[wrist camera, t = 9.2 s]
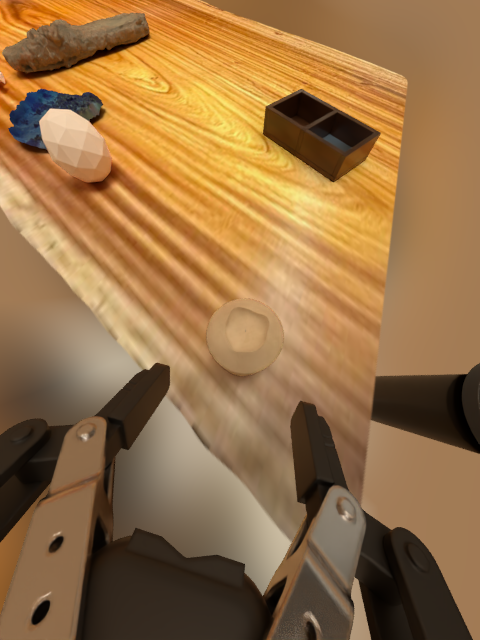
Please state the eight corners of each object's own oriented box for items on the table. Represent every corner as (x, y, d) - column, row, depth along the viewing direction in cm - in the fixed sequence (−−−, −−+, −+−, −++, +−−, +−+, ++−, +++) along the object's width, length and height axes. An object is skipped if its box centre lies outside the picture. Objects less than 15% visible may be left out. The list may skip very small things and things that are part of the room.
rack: (365, 159, 32) (381, 132, 28) (333, 182, 30) (345, 156, 26) (295, 116, 36) (301, 88, 32) (262, 133, 34) (265, 106, 30)
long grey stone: (162, 48, 48) (142, 39, 50) (153, 8, 43) (132, 1, 45) (24, 81, 38) (9, 68, 41) (-8, 35, 33) (-22, 24, 36)
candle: (212, 338, 21) (191, 304, 12) (255, 322, 22) (267, 278, 12) (228, 384, 19) (218, 388, 10) (273, 365, 20) (305, 352, 11)
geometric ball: (110, 184, 33) (100, 123, 28) (120, 191, 29) (109, 120, 24) (53, 173, 28) (30, 98, 24) (54, 179, 24) (26, 89, 19)
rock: (112, 107, 36) (104, 92, 34) (53, 159, 31) (41, 145, 29) (56, 93, 38) (47, 78, 36) (-7, 139, 33) (-22, 125, 31)
